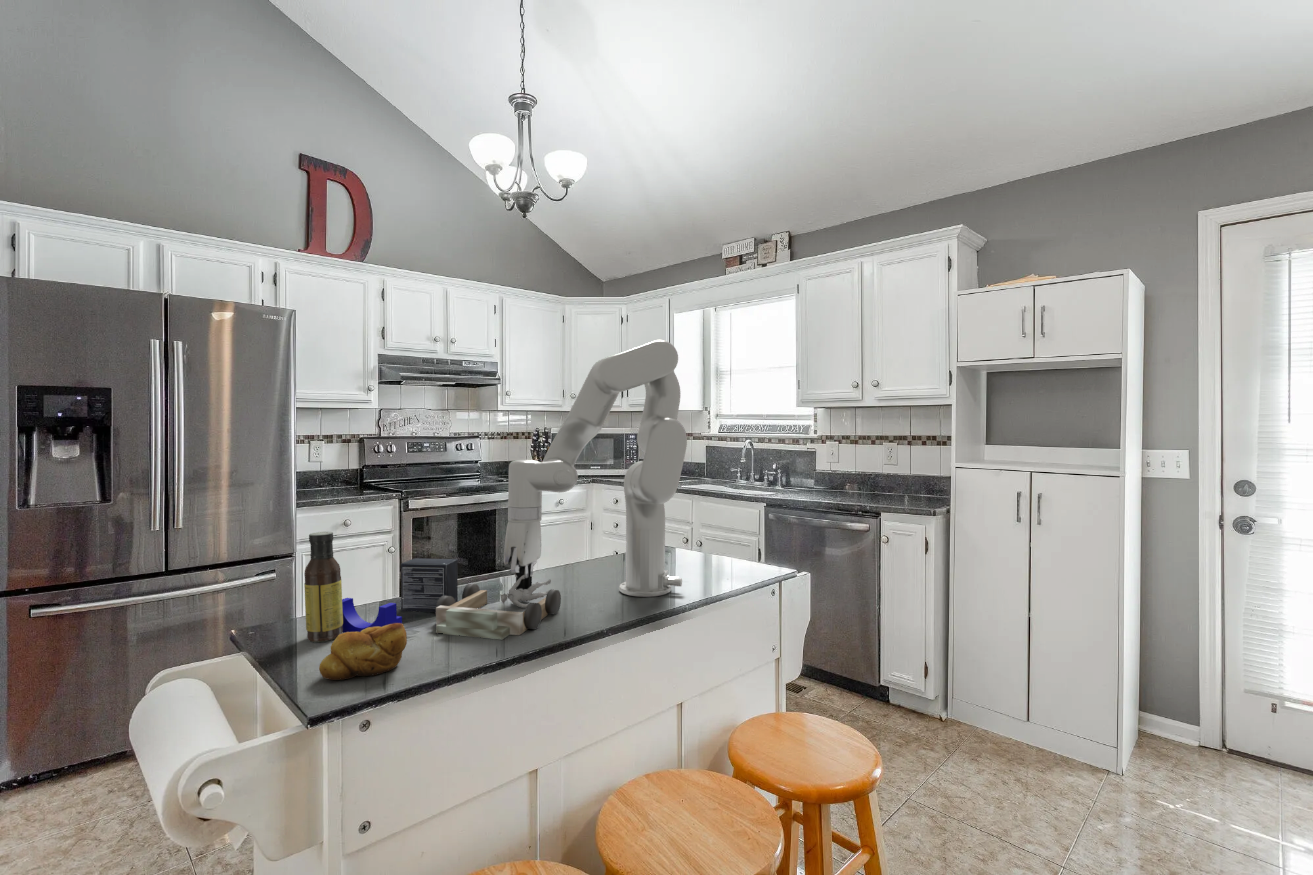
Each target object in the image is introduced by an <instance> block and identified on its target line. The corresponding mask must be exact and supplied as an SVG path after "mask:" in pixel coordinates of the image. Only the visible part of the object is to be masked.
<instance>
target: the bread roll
mask: <svg viewBox="0 0 1313 875" xmlns="http://www.w3.org/2000/svg"><path fill="white" fill-rule="evenodd" d="M407 635H408V634H407V630H406V628H405V625H404V624H403V623H402V624H401V623H394V624H389V625H385V626H383V627H379V626H377V627H368V628H366V629H364V630H362V631H360V632H346V633H342V634H339V635H338V636H337V638H335V639H333V641H332V643H331V645H330V654H328V655H327V656H325V657H324V658H323V659H322V660H321V662H320V664H319V667H318V669H319V670H318V671H319V673H320V675H321V676H322V678H323V679H327V680H335V681H342V680H347V679H351V678H354V677H356V676H359V677H363V676H376V675H379V674H383V673H387V672H390V671H391V670H393V669H395V668H396V667H397V666H398V665H399V664H400V661H401V659H402V656H403V652H404V651H405V648H407V644H408V642H407V641H408V640H407V639H408V637H407Z"/></svg>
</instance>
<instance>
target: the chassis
mask: <svg viewBox="0 0 1313 875" xmlns="http://www.w3.org/2000/svg"><path fill="white" fill-rule="evenodd" d="M462 590H463V591H462V594H461V599H460V600H459V601H458V602H456V603H455V600H454V598H453V597H452V596H441V597H440V598H439V600H438V602H437V604H436V608H435V612H434V613H435V628H436V631H435V633H436V634H438V633H443V634H442V635H450V636H459V635H460V636H461V637H470V638H472V637H473V638H480V637H481V638H482V639H483V638H484V639H493V640H504V639H505V638H507V637H508V636H510V635H512V636H521V635H522V634H524V632H526V631H527V630H536V629H538V628H539V626H540V624H541V621H542V620H543V619H544V618H545V617H547V616H548V615H557V614H558V612H559V611H560V609H561V604H562V595H561V592H560V590H558V589H554V590H553V589H549V590H548V591H549V592H548V593H547V595H545V597H543V599H541V600H539V601H538V602H529V603H527V604H528V605H527V607H526V608H525V610H524V611H523V612H521V611H511V610H510V611H509V610H499V609H487V608H482V607H484V606H486V605H488V590H486V589H485V590H484V589H480V587H479V585H478V584H476V583H467V584H466V585H465V586H464V588H463V589H462ZM485 604H486V605H485ZM481 606H482V607H481ZM477 608H479V609H477ZM481 638H480V639H481Z"/></svg>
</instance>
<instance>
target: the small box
mask: <svg viewBox="0 0 1313 875" xmlns="http://www.w3.org/2000/svg"><path fill="white" fill-rule="evenodd" d="M458 561H459V560H458V558H455V559H454V558H415V557H414V558H412V559H409V560H407V561H404V562H402V563H400V574H401V576H400V583H401V584H400V590H401V591H400V593H401V596H400V600H401V602H400V611H401V612H413V611H416V613H417V612H418V613H419V611H420V612H423V611H424V612H423V613H435V608H436V604H437V602H438V600H439V598H440V597H441V596H452V597H453V598H454V600H455V603H456V602H458V599H459V598H458V592H459V591H458V589H459V588H458V570H459V569H458ZM402 598H404V599H402Z"/></svg>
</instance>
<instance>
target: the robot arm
mask: <svg viewBox="0 0 1313 875" xmlns="http://www.w3.org/2000/svg"><path fill="white" fill-rule="evenodd" d="M678 353H679V352H678V351H677V349H676V347H675V346H674V345H673V344H672V343H670V342H669V341H667V340H664V339H656V340H653V341H651V342H648V343H645V344H643V345H640V346H637V347H633V348H632V349H628V350H625V351H623V352H620V353H616V354H613V355H609V356H607V357H604V358H601V359H599V360H598V361H596V362H595V363H594V364H593V366H592V367H591V369H589V372H588V374H587V377H586V378H585V380H584V381H583V383H582V387H581V389H580V390H579V391H578V395H577V396H576V398H575V400H574V402H573V405H572V406H571V408H570V410H569V412H568V413H567V416H566V417H565V419H564V421H563V423H562V425H561V426H560V428H559V430H558V431H557V433H556V435H555V436H554V438H553V440H552V442H551V444H550V446H549V448H548V450H547V451H546V453H545V455H544V457H543V460H542V461H538V460H536V459H535V460H534V459H516V460H513V461H511V462H510V463H509V465H508V488H507V489H508V494H507V499H508V500H507V501H508V502H507V506H508V507H507V524H506V529H505V530H506V531H505V538H504V539H505V540H504V547H503V548H504V550H503V551H504V552H503V563H504V565H506V566H510V573H514V577H515V582H516V581H517V580H518V579H519V578H520V577H521V576H523V575H526V576H524V578H525V579H521V581H520V583H519V585H518V586H517V587H516V589H515V590H518V589H523V590H524V589H528V588H529V587H530V586H532V585H533V574H534V567H535V565H536V564H537V562H538V560H539V559H540V558H541V556H542V528H541V521H542V517H543V516H542V514H543V513H542V511H543V506H542V505H543V502H542V501H543V492H551V493H558V494H560V493H566V492H569V491H570V490H572V489H573V488H574V487H576V484H577V482H578V476H579V474H578V470H577V469H576V467H575V465H576V462H577V460H578V459H579V457H580V455H581V453H582V451H583V450H584V448H585V447H586V446H587V444H589V442H590V441H592V440H593V439H594V438H595V437H596V436H597V435H598V434H599V433H600V431H601V430H602V429H603V427H604V425H605V423H606V420H607V419H608V416H609V415H610V412H611V410H612V408H613V407H614V404H615V402H616V401H617V398H618V396H619V394H620V393H622V392H624V391H628V390H631V389H635V388H637V387H640V386H643V385H644V388H645V398H644V405H643V410H642V414H641V417H640V418H641V419H640V422H639V428H638V431H637V435H636V443H637V445H638V448H639V449H640V451H641V452H643V453H644V455H643V459H642V460H639V461H636V462H635V463H633V464H632V465H630V466H629V468H628V469H627V470H626V472H625V474H624V480H623V492H624V500H625V501H624V502H625V581H624V582H622V583H620V584H619V587H618V590H619V592H620V593H621V594H624V595H627V596H629V597H630V596H631V597H638V598H639V597H641V598H649V597H651V598H652V597H658V596H664V595H667V594H669V593H670V592H671V591H672V586H673V587H682V586H683V579H682V578H680V576H670V574H669V570H666V567H665V566H666V511H665V510H666V509H665V503H668V502H669V501H670V500H671V499H672V498H673V497H674V495H675V494H676V492H677V490H678V487H679V484H680V479H681V474H682V471H683V467H684V466H683V465H684V460H685V457H686V451H687V447H688V446H687V445H688V437H687V432H686V429H685V427H684V426H683V424H682V423H681V422H680V421H678V416H679V409H680V403H681V386H680V383H679V382H680V381H679V379H678V377H677V374H676V373H675V371H674V370H675V369H676V368H677V366H678V363H679V354H678Z"/></svg>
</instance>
